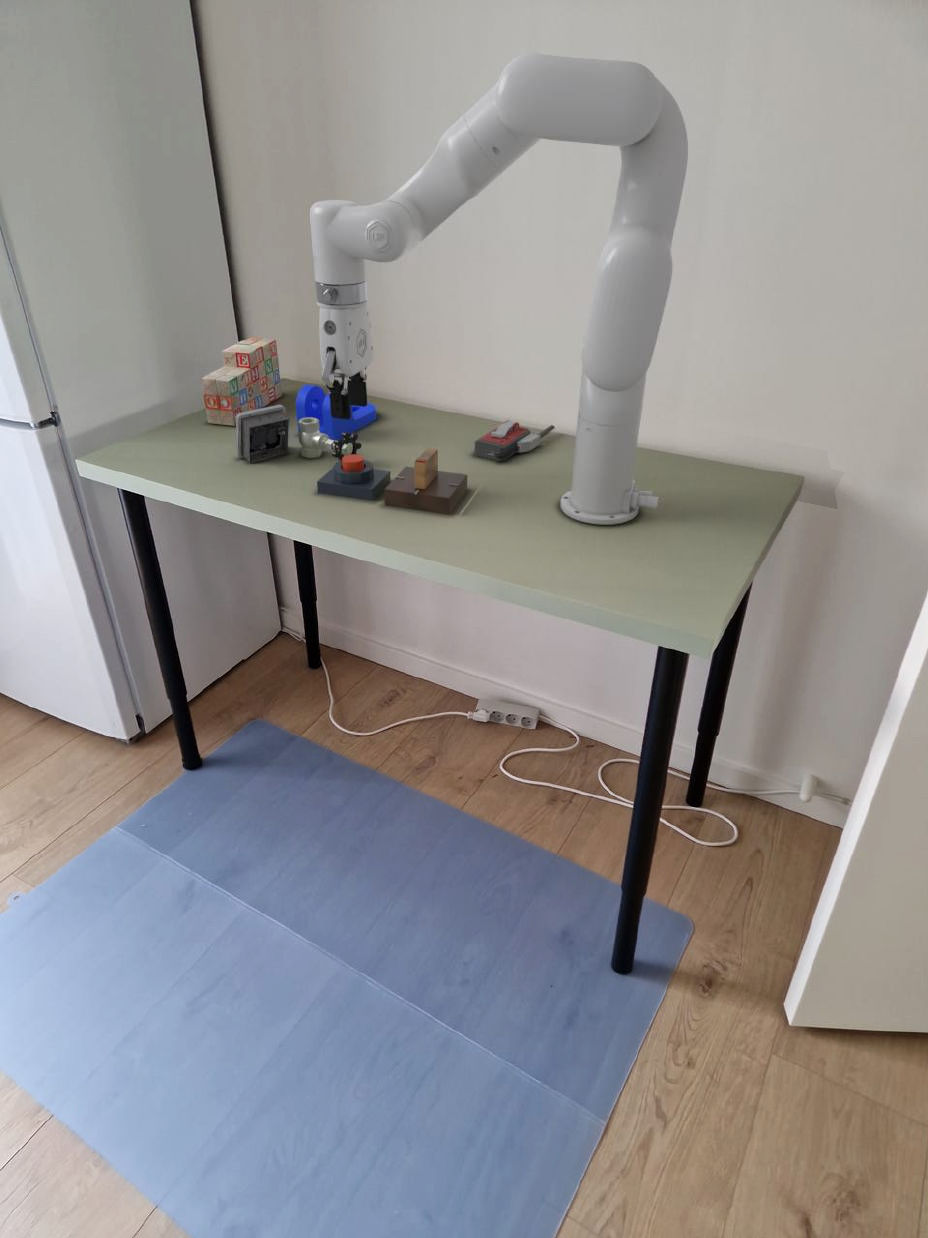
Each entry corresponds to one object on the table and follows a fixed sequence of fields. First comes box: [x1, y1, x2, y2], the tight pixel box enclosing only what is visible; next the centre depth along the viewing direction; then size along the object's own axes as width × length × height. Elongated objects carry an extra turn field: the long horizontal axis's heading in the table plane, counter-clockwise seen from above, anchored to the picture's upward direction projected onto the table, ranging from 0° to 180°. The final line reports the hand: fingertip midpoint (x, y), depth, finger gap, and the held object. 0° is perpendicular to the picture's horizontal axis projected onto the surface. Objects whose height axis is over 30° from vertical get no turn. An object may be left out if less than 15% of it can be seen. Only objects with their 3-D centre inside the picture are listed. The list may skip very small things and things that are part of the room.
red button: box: [342, 453, 365, 471], centre depth 136 cm, size 4×4×2 cm
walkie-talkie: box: [473, 420, 556, 462], centre depth 154 cm, size 9×4×20 cm
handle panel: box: [383, 466, 468, 516], centre depth 134 cm, size 11×11×3 cm
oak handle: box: [413, 447, 439, 489], centre depth 132 cm, size 6×2×5 cm, turn 163°
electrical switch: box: [235, 404, 290, 464], centre depth 147 cm, size 9×5×9 cm, turn 128°
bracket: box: [295, 384, 377, 441], centre depth 162 cm, size 18×8×9 cm, turn 153°
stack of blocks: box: [201, 337, 283, 427], centre depth 169 cm, size 21×6×12 cm, turn 165°
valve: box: [297, 417, 363, 464], centre depth 147 cm, size 7×7×12 cm
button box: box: [316, 459, 392, 502], centre depth 137 cm, size 10×8×4 cm
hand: (349, 410), depth 131 cm, fingers open, 5 cm apart
